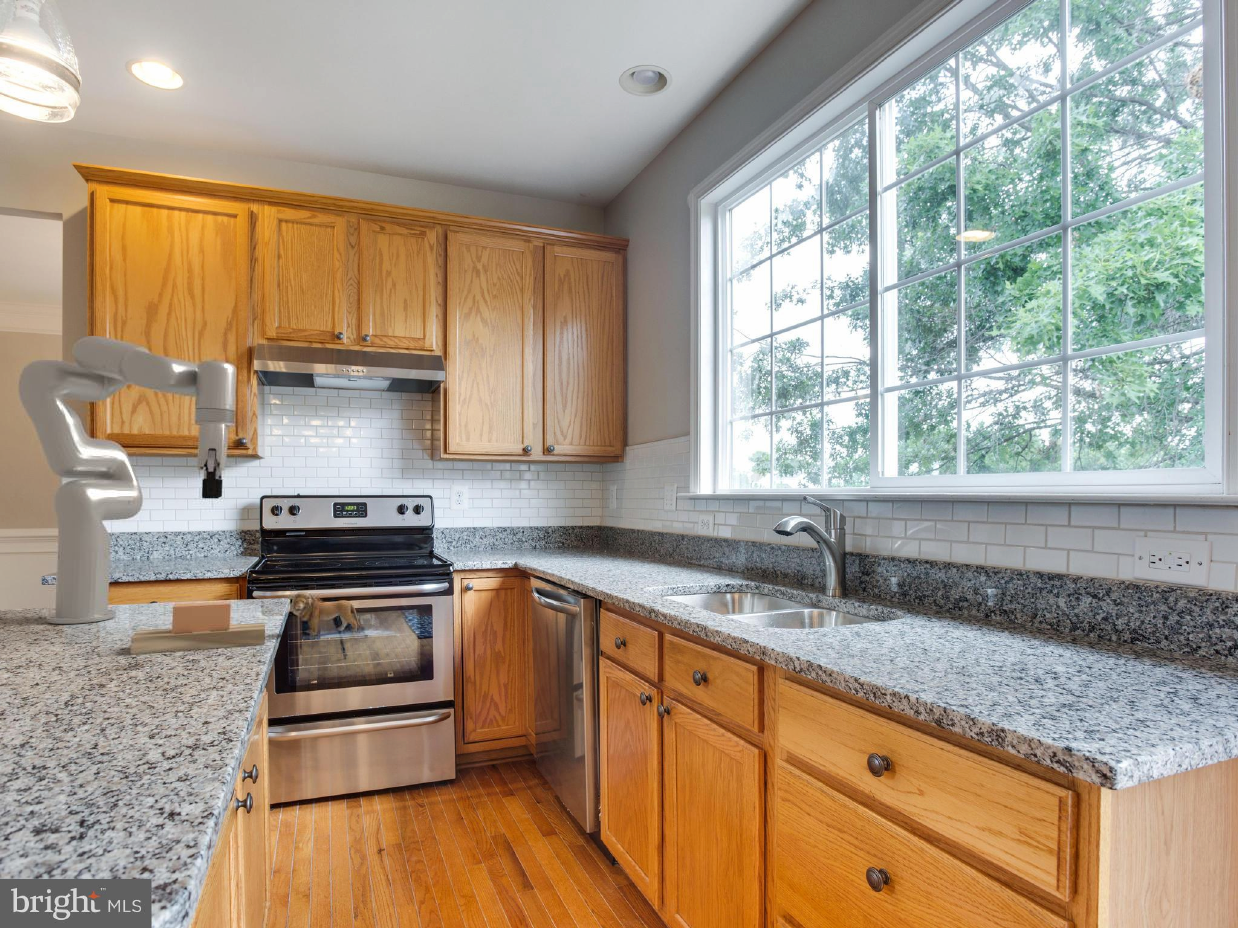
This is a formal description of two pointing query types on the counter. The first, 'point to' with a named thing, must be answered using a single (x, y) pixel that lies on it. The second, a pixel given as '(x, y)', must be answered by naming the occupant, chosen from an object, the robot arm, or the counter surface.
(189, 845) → the counter surface
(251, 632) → the rail
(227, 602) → the clip
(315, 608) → the lion figurine
